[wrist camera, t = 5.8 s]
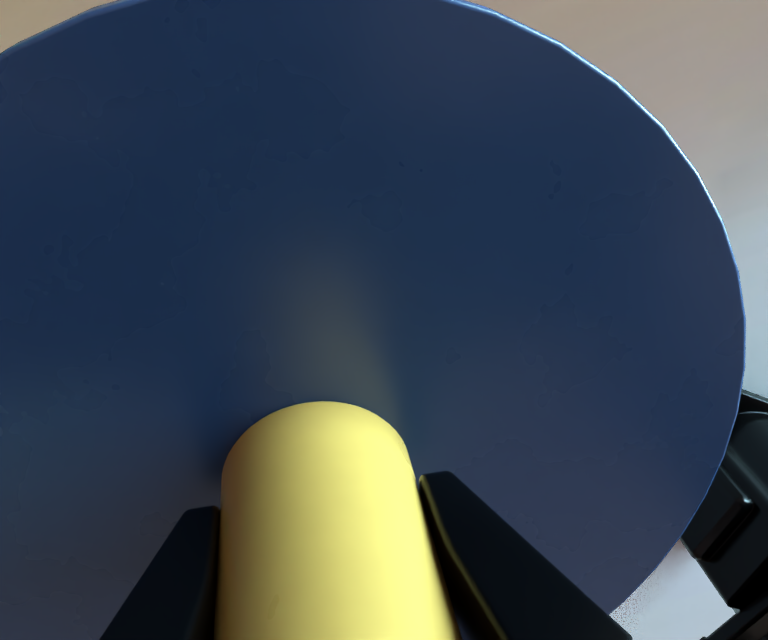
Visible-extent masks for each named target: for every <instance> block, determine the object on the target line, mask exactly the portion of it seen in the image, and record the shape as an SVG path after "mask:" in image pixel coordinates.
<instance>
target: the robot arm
mask: <svg viewBox="0 0 768 640" xmlns="http://www.w3.org/2000/svg"><path fill="white" fill-rule="evenodd" d="M419 492H420V496H421V499H422V503H423V506H424V509H425V513H426V516H427V520H428V523H429V527H430V530H431V533H432V537H433V540H434V544H435V547H436V551H437V554H438V558H439V561H440V564H441V568H442V571H443V575H444V578H445V582H446V585H447V589H448V592H449V595H450V599H451V602H452V606H453V609H454V613H455V616H456V620H457V623H458V626H459V630H460V633H461V637H462V640H632V637H631V635H630V634H629V633H627V632H626V631H625V630H624V629H623V628H622V627H621V626H620V625H619V624H618V623H617V622H615V621H614V620H613V619H612V618H611V617H610V616H609V615H608V614H607V613H606V612H604V611H603V610H602V609H601V608H600V607H599V606H598V605H597V604H596V603H595V602H594V601H592V600H591V599H590V598H589V597H588V596H587V595H586V594H585V593H584V592H583V591H581V590H580V589H579V588H578V587H577V586H576V585H575V584H574V583H573V582H572V581H570V580H569V579H568V578H567V577H566V576H565V575H564V574H563V573H562V572H561V571H560V570H558V569H557V568H556V567H555V566H554V565H553V564H552V563H551V562H550V561H549V560H547V559H546V558H545V557H544V556H543V555H542V554H541V553H540V552H539V551H538V550H537V549H535V548H534V547H533V546H532V545H531V544H530V543H529V542H528V541H527V540H526V539H524V538H523V537H522V536H521V535H520V534H519V533H518V532H517V531H516V530H515V529H513V528H512V527H511V526H510V525H509V524H508V523H507V522H506V521H505V520H504V519H503V518H501V517H500V516H499V515H498V514H497V513H496V512H495V511H494V510H493V509H492V508H490V507H489V506H488V505H487V504H486V503H485V502H484V501H483V500H482V499H481V498H480V497H478V496H477V495H476V494H475V493H474V492H473V491H472V490H471V489H470V488H469V487H467V486H466V485H465V484H464V483H463V482H462V481H461V480H460V479H459V478H458V477H456V476H455V475H454V474H453V473H452V472H450V471H439V472H432V473H426V474H422V475H421V476H420V478H419ZM219 524H220V509H219V508H218V507H217V506H215V505H212V506H205V507H198V508H192V509H188V510H186V511H185V512H184V513H183V514H182V516H181V517H180V519H179V520H178V522H177V523H176V525H175V526H174V528H173V529H172V531H171V532H170V534H169V535H168V537H167V538H166V540H165V541H164V543H163V544H162V546H161V547H160V549H159V550H158V552H157V553H156V555H155V556H154V558H153V559H152V561H151V562H150V564H149V565H148V567H147V568H146V570H145V571H144V573H143V574H142V576H141V577H140V579H139V580H138V582H137V583H136V585H135V586H134V588H133V589H132V591H131V592H130V594H129V595H128V597H127V598H126V600H125V601H124V603H123V604H122V606H121V607H120V609H119V610H118V612H117V613H116V615H115V616H114V618H113V619H112V621H111V622H110V624H109V625H108V627H107V628H106V630H105V631H104V633H103V634H102V636H101V637H100V639H99V640H214V620H215V600H216V584H217V564H218V544H219ZM679 539H680V540H681V542H682V543H683V545H684V546H685V547H686V549H687V550H688V552H689V553H690V555H691V556H692V557H693V558H694V559H696V561H697V562H698V564H699V565H700V567H701V568H702V569H703V571H704V572H705V574H706V575H707V577H708V578H709V580H710V581H711V582H712V584H713V585H714V587H715V588H716V590H717V591H718V593H719V594H720V596H721V597H722V598H723V600H724V601H725V603H726V604H727V606H729V607H731V608H732V609H733V610H734V612H735V613H736V614H735V615H733V616H732V617H731V618H730V619H729V620H727V621H726V622H725V623H724V624H723V625H721V626H720V627H719V628H718V629H717V630H715V631H714V632H713V633H712V634H711V635H709V636H708V637H707V638H706V637H702V638H701V639H700V640H768V399H767V398H765V397H762V396H759V395H756V394H754V393H751V392H748V391H745V390H743V389H741V395H740V401H739V407H738V413H737V416H736V420H735V423H734V426H733V429H732V432H731V436H730V439H729V442H728V445H727V449H726V452H725V455H724V457H723V460H722V462H721V464H720V466H719V468H718V471H717V473H716V475H715V477H714V479H713V481H712V484H711V486H710V488H709V490H708V492H707V494H706V497H705V498H704V500H703V501H702V503H701V505H700V506H699V508H698V510H697V511H696V513H695V515H694V516H693V518H692V519H691V521H690V523H689V524H688V526H687V528H686V529H685V531H684V533H683V534H682V535H681V537H680V538H679Z"/></svg>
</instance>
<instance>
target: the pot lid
mask: <svg viewBox="0 0 768 640" xmlns="http://www.w3.org/2000/svg"><path fill="white" fill-rule="evenodd" d="M745 337H746V318H745V311H744V305H743V298H742V291H741V284H740V277H739V271H738V267H737V264H736V261H735V258H734V255H733V252H732V249H731V245H730V242H729V239H728V236H727V233H726V230H725V226H724V223H723V220H722V218H721V216H720V214H719V212H718V210H717V208H716V206H715V204H714V203H713V201H712V199H711V197H710V195H709V193H708V191H707V189H706V187H705V185H704V183H703V181H702V179H701V177H700V175H699V173H698V171H697V170H696V169H695V167H694V166H693V165H692V163H691V162H690V161H689V159H688V158H687V157H686V155H685V154H684V153H683V151H682V150H681V149H680V147H679V146H678V145H677V143H676V142H675V141H674V139H673V138H672V137H671V135H670V134H669V133H668V131H667V130H666V129H665V127H664V126H663V125H662V123H660V122H659V121H658V120H657V119H656V118H655V117H654V116H653V115H652V114H651V113H650V112H649V111H648V110H647V109H646V108H645V107H644V106H643V105H642V104H641V103H640V102H639V101H637V100H636V99H635V98H634V97H633V96H632V95H631V94H630V93H629V92H628V91H627V90H626V89H625V88H624V87H623V86H622V85H621V84H620V83H619V82H618V81H617V80H615V79H614V78H612V77H611V76H609V75H608V74H606V73H605V72H603V71H602V70H601V69H599V68H598V67H596V66H595V65H593V64H592V63H590V62H589V61H587V60H586V59H584V58H583V57H582V56H580V55H579V54H577V53H576V52H574V51H573V50H571V49H570V48H568V47H567V46H566V45H564V44H563V43H561V42H559V41H557V40H555V39H553V38H551V37H549V36H547V35H545V34H543V33H541V32H538V31H536V30H534V29H532V28H530V27H528V26H526V25H524V24H522V23H520V22H517V21H515V20H513V19H511V18H509V17H507V16H505V15H503V14H501V13H499V12H497V11H494V10H492V9H490V8H487V7H485V6H482V5H478V4H475V3H472V2H468V1H465V0H117V1H114V2H110V3H107V4H103V5H100V6H97V7H93V8H91V9H89V10H87V11H84V12H82V13H80V14H78V15H76V16H74V17H72V18H69V19H67V20H65V21H63V22H61V23H59V24H57V25H54V26H52V27H50V28H48V29H46V30H44V31H42V32H39V33H37V34H35V35H33V36H31V37H29V38H27V39H24V40H22V41H20V42H18V43H16V44H15V45H13V46H11V47H9V48H8V49H6V50H5V51H3V52H2V53H0V640H99V639H100V637H101V636H102V634H103V633H104V631H105V630H106V628H107V627H108V625H109V624H110V622H111V621H112V619H113V618H114V616H115V615H116V613H117V612H118V610H119V609H120V607H121V606H122V604H123V603H124V601H125V600H126V598H127V597H128V595H129V594H130V592H131V591H132V589H133V588H134V586H135V585H136V583H137V582H138V580H139V579H140V577H141V576H142V574H143V573H144V571H145V570H146V568H147V567H148V565H149V564H150V562H151V561H152V559H153V558H154V556H155V555H156V553H157V552H158V550H159V549H160V547H161V546H162V544H163V543H164V541H165V540H166V538H167V537H168V535H169V534H170V532H171V531H172V529H173V528H174V526H175V525H176V523H177V522H178V520H179V519H180V517H181V516H182V514H183V513H184V512H185V511H186V510H188V509H192V508H198V507H205V506H212V505H215V506H217V507H218V508H219V509H220V524H219V544H218V564H217V584H216V600H215V620H214V640H462V637H461V633H460V630H459V626H458V623H457V620H456V616H455V613H454V609H453V606H452V602H451V599H450V595H449V592H448V589H447V585H446V582H445V578H444V575H443V571H442V568H441V564H440V561H439V558H438V554H437V551H436V547H435V544H434V540H433V537H432V533H431V530H430V527H429V523H428V520H427V516H426V513H425V509H424V506H423V503H422V499H421V496H420V492H419V478H420V476H421V475H422V474H426V473H432V472H439V471H450V472H452V473H453V474H454V475H455V476H456V477H458V478H459V479H460V480H461V481H462V482H463V483H464V484H465V485H466V486H467V487H469V488H470V489H471V490H472V491H473V492H474V493H475V494H476V495H477V496H478V497H480V498H481V499H482V500H483V501H484V502H485V503H486V504H487V505H488V506H489V507H490V508H492V509H493V510H494V511H495V512H496V513H497V514H498V515H499V516H500V517H501V518H503V519H504V520H505V521H506V522H507V523H508V524H509V525H510V526H511V527H512V528H513V529H515V530H516V531H517V532H518V533H519V534H520V535H521V536H522V537H523V538H524V539H526V540H527V541H528V542H529V543H530V544H531V545H532V546H533V547H534V548H535V549H537V550H538V551H539V552H540V553H541V554H542V555H543V556H544V557H545V558H546V559H547V560H549V561H550V562H551V563H552V564H553V565H554V566H555V567H556V568H557V569H558V570H560V571H561V572H562V573H563V574H564V575H565V576H566V577H567V578H568V579H569V580H570V581H572V582H573V583H574V584H575V585H576V586H577V587H578V588H579V589H580V590H581V591H583V592H584V593H585V594H586V595H587V596H588V597H589V598H590V599H591V600H592V601H594V602H595V603H596V604H597V605H598V606H599V607H600V608H601V609H602V610H603V611H604V612H606V613H607V614H608V615H609V614H610V613H611V612H613V611H614V610H615V609H616V608H617V607H618V606H620V605H621V604H622V603H623V602H624V601H625V600H626V599H627V598H628V597H629V596H630V595H631V594H632V593H633V592H634V591H635V590H636V589H637V588H638V587H639V586H640V585H641V584H642V583H643V581H644V580H645V579H646V578H647V577H648V576H649V575H650V574H651V573H652V572H653V571H654V570H655V569H656V568H657V566H658V565H659V564H660V562H661V561H662V560H663V559H664V557H665V556H666V555H667V553H668V552H669V551H670V550H671V548H672V547H673V546H674V544H675V543H676V542H677V541H678V539H679V538H680V537H681V535H682V534H683V533H684V531H685V529H686V528H687V526H688V524H689V523H690V521H691V519H692V518H693V516H694V515H695V513H696V511H697V510H698V508H699V506H700V505H701V503H702V501H703V500H704V498H705V497H706V494H707V492H708V490H709V488H710V486H711V484H712V481H713V479H714V477H715V475H716V473H717V471H718V468H719V466H720V464H721V462H722V460H723V457H724V455H725V452H726V449H727V445H728V442H729V439H730V436H731V432H732V429H733V426H734V423H735V420H736V416H737V413H738V407H739V401H740V395H741V389H742V383H743V377H744V371H745Z"/></svg>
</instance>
